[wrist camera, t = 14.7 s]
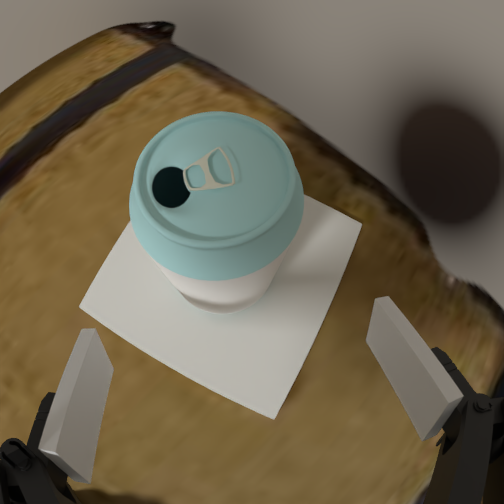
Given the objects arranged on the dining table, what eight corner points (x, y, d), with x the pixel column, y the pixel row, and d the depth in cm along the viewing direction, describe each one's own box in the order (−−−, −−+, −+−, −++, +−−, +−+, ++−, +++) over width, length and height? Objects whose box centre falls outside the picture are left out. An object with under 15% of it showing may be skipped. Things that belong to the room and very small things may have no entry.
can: (237, 335, 20) (243, 312, 9) (153, 278, 21) (79, 197, 10) (290, 252, 22) (345, 151, 11) (210, 202, 23) (196, 79, 12)
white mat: (82, 308, 21) (78, 306, 20) (187, 146, 26) (187, 142, 25) (272, 417, 19) (274, 419, 19) (359, 226, 24) (362, 224, 23)
